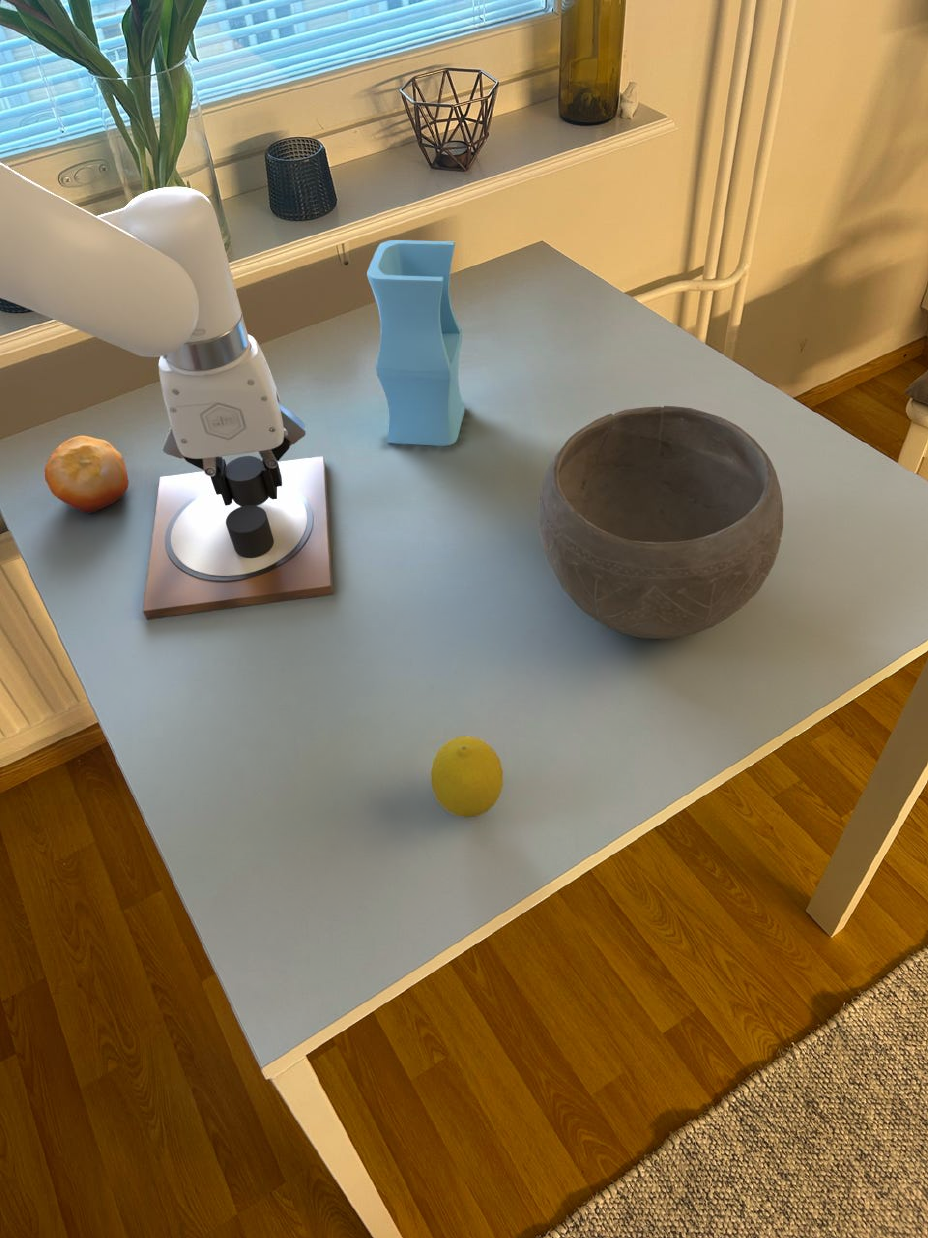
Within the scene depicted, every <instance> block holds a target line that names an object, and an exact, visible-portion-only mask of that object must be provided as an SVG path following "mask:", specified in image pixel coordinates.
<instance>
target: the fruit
mask: <svg viewBox="0 0 928 1238" xmlns="http://www.w3.org/2000/svg"><path fill="white" fill-rule="evenodd" d="M46 461H47V462H46V464H45V467H44V479H45V482H46V483H47V486H48V488H49V490H50V492H51V493H52V494H53V496H54V497H56V498H57V499H58V500H59V501H61V502H62V503H65V504H66V505H68V506H70V507H73V508H74V509H76V510H78V511H80V512H82V513H86V514H91V513H95V512H98V511H100V510H103V509H104V508H106V507H108V506H110V505H111V504H113V503H115V502H117V501H118V500H119V499H120V498H121V497H123V495H125V493H126V492H127V490H128V488H129V484H130V481H129V476H128V471H127V468H126V467H127V466H126V463H125V459H124V457H123V455H122V453H120V452H119V451H118V450H117V449H116V448H115V446H113V445H112V443H110V442H109V441H106V440H105V439H99V438H95V437H91V436H86V435H78V436H74V437H71V438H69V439H67V440H65V441H63V442H62V443H61V444H60V445H58V446H57V448H55V449H54V451H52V452H51V454H50V456H49V459H47V460H46Z"/></svg>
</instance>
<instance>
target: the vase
mask: <svg viewBox="0 0 928 1238" xmlns="http://www.w3.org/2000/svg"><path fill="white" fill-rule="evenodd" d="M455 247H456V241H455V240H417V239H415V240H414V239H413V240H412V239H388V240H385V241H382V242H381V243H379V244H378V246H377V248H376V250H375V252H374V255H373V258H372V260H371V261H370V264H369V266H368V269H367V272H366V276H367V279H368V282H369V284H370V287H371V289H372V292H373V295H374V298H375V302H376V306H377V308H378V314H379V319H380V340H379V341H380V342H379V349H378V355H377V359H376V366H375V370H376V376H377V379H378V381H379V383H380V385H381V388H382V390H383V393H384V396H385V399H386V402H387V407H388V417H389V418H388V432H387V433H388V434H387V441H386V444H399V445H400V444H401V445H417V446H434V447H445V446H447V447H448V446H452V445H453V444H455V443H456V442H457V441H458V438H459V435H460V430H461V427H462V423H463V419H464V415H465V412H466V411H465V410H466V409H465V404H464V403H463V402H464V401H463V398H462V394H461V389H460V383H459V366H460V365H459V364H460V363H459V362H460V356H461V355H460V353H461V348H462V342H463V330H462V327H461V325H460V323H459V321H458V319H457V316H456V314H455V312H454V309H453V305H452V300H451V294H450V279H451V271H452V263H453V257H454V252H455Z"/></svg>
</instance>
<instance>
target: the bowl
mask: <svg viewBox="0 0 928 1238" xmlns="http://www.w3.org/2000/svg"><path fill="white" fill-rule="evenodd" d="M542 481H543V482H542V484H541V488H540V493H539V500H538V501H539V502H538V529H539V532H538V533H539V537H540V542H541V546H542V549H543V552H544V554H545V556H546V558H547V561H548V563H549V565H550V567H551V569H552V571H553V572H554V575H555V577H556V578H557V580H558V583H559V585H560V586H561V588H562V590H564V591H565V592H566V594H567V595H568V596H569V597H570V599H571V600H572V601H573V602H574V603H575V604H576V605H577V607H578V608H579V609H580V610H582V611H583V612H584V613H585V614H586V615H588V616H590V617H591V618H592V619H594V620H595V621H596V622H598V623H600V624H602V625H604V626H606V627H607V628H610V629H611V630H613V631H617V632H619V633H622V634H625V635H629V636H632V637H637V638H640V639H652V640H653V639H656V640H657V639H674V638H675V639H676V638H681V637H685V636H689V635H694V634H696V633H697V634H698V633H700V632H702V631H705V630H707V629H710V628H713V627H715V626H717V625H719V624H720V623H722V622H724V621H725V620H727V619H728V618H729V617H731V616H733V615H734V614H736V613H737V612H738V611H739V610H740V609H742V608H743V607H744V606H746V604H747V603H748V602H749V601H751V599H752V598H754V596H755V595H757V593H758V592H759V591H760V590H761V587H762V586H763V584H764V583H765V581H766V579H767V577H768V576H769V575H770V572H771V571H772V569H773V568H774V565H775V563H776V560H777V557H778V554H779V550H780V547H781V542H782V540H781V539H782V535H783V529H784V504H783V494H782V489H781V484H780V482H779V478H778V474H777V471H776V469H775V467H774V465H773V462H772V460H771V458H770V457H769V455H768V454H767V453H766V451H765V450H764V449H763V447H762V446H761V445H760V444H758V441H756V440H755V439H754V438H753V436H751V435H750V434H749V433H747V432H746V431H745V430H744V429H743V428H741V427H740V426H738V425H737V424H736V423H733V422H731V421H730V420H728V419H726V418H723V417H722V416H719V415H715V414H712V413H709V412H705V411H702V410H699V409H695V408H691V407H686V406H685V407H684V406H674V405H664V406H663V407H662V406H649V407H648V406H645V407H644V406H643V407H636V408H629V409H624V410H621V411H620V410H619V411H617V412H615V413H608V414H605V415H603V416H601V417H600V418H597V419H595V420H593V421H592V422H590V423H589V424H587V425H585V426H584V427H582V428H581V429H579V430H578V431H577V432H575V433H573V434H572V435H571V436H570V437H569V438H568V439H567V440H566V442H565V443H564V444H563V446H562V447H561V448H559V451H558V452H557V453H556V455H554V458H553V460H552V462H551V464H550V465H549V467H548V469H547V471H546V473H545V476H544V478H543V480H542Z"/></svg>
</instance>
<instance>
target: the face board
mask: <svg viewBox="0 0 928 1238" xmlns="http://www.w3.org/2000/svg"><path fill="white" fill-rule="evenodd" d="M278 464H279V468H280V472H281V476H282V486H281V487H277V499H273V500H272V498H271V499H270V498H268V499H267V500H266V501H265V502H264V503H262V504H260V505H258V506H259V507H261V508H262V509H264V511H265V512H266V514H267V518H268V521H269V525H270V528H271V532H272V535H273V539H274V544H273V546H272V548H271V549H270V551H268V552H267V553H266V554H264V555H262V556H260V557H256V558H245V557H241V556H240V555H238V554H237V553H236V552H235V549H234V546H233V543H232V540H231V538H230V535H229V532H228V529H227V526H226V519H227V516H228V515H229V514H230V513H231V512H232V511H233V510H235V509H236V508H239V507H241V506H239V505H237V504H236V503H235V502H234V501H233V499H232V504H231V505H228V506H225V504H224V501H223V498H222V495H221V494H220V495H216V492H215V490H214V487H213V484H212V481H211V478H210V476H207V475H206V474H205V473H204V470H202V471H194V472H186V473H180V474H172V475H171V474H170V475H163V476H159V479H158V480H159V481H158V489H157V495H156V496H157V497H156V505H155V512H154V519H153V526H152V527H153V529H152V535H151V542H150V551H149V559H148V565H147V566H148V567H147V573H146V574H147V575H146V583H145V591H144V599H143V605H142V613H143V615H144V617H145V619H146V620H151V619H158V618H165V617H174V616H180V615H189V614H195V613H203V612H209V611H210V612H211V611H217V610H224V609H233V608H241V607H246V606H254V605H263V604H268V603H269V604H270V603H276V602H284V601H291V600H298V599H305V598H306V599H307V598H314V597H323V596H328V595H333V579H332V577H333V576H332V561H331V541H330V524H329V523H330V522H329V506H328V488H327V487H328V485H327V469H326V461H325V457H324V455H319V456H313V457H304V458H297V459H289V460H281V461H280V460H279V461H278Z"/></svg>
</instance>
